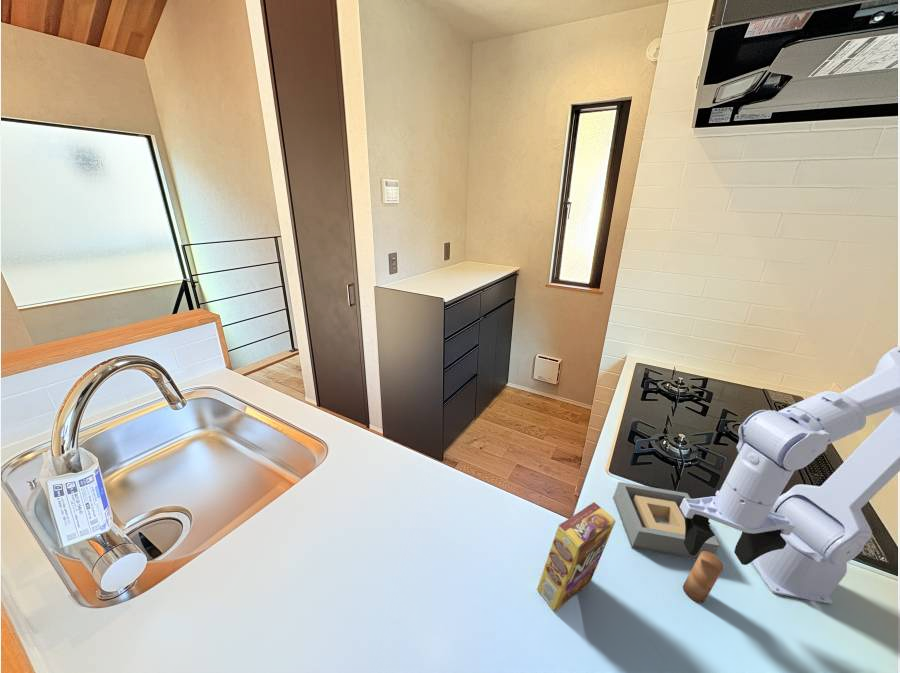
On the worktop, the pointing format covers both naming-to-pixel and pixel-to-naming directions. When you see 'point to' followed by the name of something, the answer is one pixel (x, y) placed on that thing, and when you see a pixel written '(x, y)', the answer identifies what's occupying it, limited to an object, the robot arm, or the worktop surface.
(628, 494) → the tray
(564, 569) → the candy box
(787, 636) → the worktop surface
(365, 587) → the worktop surface
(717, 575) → the peg
